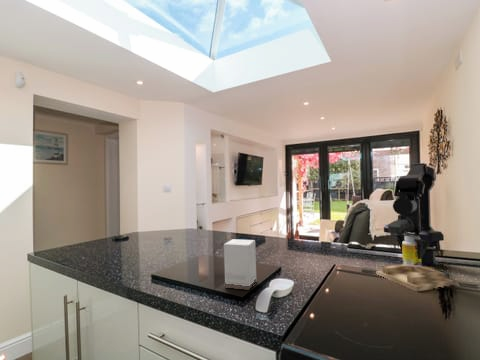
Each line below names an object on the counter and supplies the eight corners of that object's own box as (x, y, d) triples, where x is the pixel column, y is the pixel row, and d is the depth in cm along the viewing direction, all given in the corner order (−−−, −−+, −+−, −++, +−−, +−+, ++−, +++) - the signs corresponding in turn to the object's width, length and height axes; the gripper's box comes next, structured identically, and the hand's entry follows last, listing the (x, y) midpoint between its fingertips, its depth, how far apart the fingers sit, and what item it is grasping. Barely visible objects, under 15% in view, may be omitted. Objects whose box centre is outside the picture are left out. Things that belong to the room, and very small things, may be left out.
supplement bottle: (417, 268, 87) (416, 238, 87) (399, 264, 91) (398, 235, 91) (424, 265, 90) (423, 236, 90) (407, 261, 94) (406, 234, 94)
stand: (409, 270, 100) (409, 261, 100) (453, 285, 85) (453, 274, 85) (376, 274, 96) (376, 265, 96) (416, 291, 80) (416, 280, 80)
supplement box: (257, 281, 91) (256, 239, 91) (249, 291, 83) (249, 245, 83) (233, 279, 94) (232, 238, 94) (224, 288, 86) (223, 243, 86)
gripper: (371, 211, 98) (373, 252, 97) (417, 216, 80) (419, 266, 79) (394, 209, 101) (396, 249, 100) (444, 214, 83) (445, 263, 82)
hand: (411, 256), depth 90 cm, fingers closed on supplement bottle, 6 cm apart
